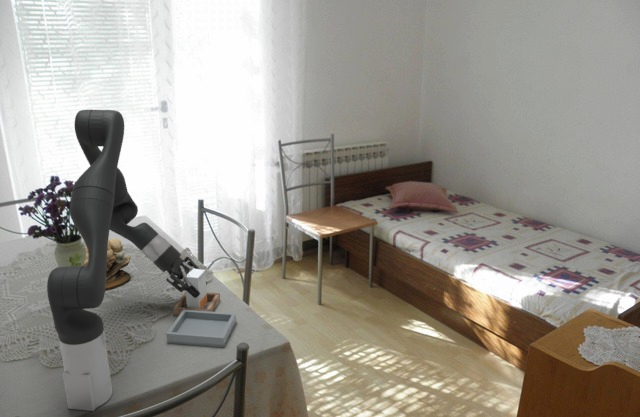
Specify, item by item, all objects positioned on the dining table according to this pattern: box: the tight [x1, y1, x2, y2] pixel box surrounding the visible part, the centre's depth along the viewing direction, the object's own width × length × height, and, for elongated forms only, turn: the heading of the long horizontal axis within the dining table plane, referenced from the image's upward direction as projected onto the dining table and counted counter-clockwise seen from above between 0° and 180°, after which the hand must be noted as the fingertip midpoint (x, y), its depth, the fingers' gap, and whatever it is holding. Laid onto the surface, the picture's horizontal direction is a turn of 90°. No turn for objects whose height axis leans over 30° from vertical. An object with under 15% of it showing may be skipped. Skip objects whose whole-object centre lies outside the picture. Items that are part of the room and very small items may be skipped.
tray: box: [166, 310, 237, 348], centre depth 148 cm, size 13×16×3 cm
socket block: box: [172, 291, 221, 317], centre depth 161 cm, size 11×11×2 cm
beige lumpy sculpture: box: [83, 238, 132, 292], centre depth 174 cm, size 18×12×17 cm, turn 129°
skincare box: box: [184, 268, 208, 309], centre depth 160 cm, size 6×4×12 cm
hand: (201, 290), depth 160 cm, fingers closed on skincare box, 6 cm apart
